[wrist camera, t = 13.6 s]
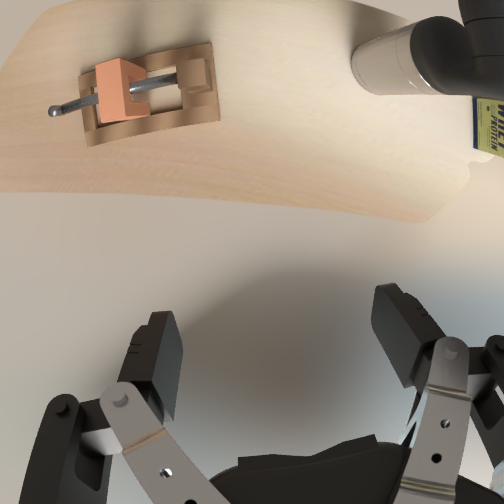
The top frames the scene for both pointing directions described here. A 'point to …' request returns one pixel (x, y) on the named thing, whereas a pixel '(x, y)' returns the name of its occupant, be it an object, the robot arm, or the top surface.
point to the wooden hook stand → (194, 112)
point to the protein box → (489, 125)
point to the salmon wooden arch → (119, 90)
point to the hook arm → (93, 99)
